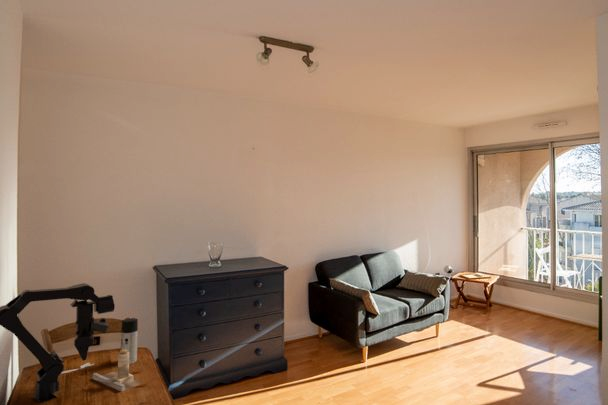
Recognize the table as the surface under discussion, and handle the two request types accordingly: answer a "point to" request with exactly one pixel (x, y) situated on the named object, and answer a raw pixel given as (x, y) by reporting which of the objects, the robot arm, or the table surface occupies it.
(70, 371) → the pliers
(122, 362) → the white tall rounded post
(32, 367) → the table surface
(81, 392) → the table surface
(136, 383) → the board
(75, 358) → the table surface
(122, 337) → the spray can
